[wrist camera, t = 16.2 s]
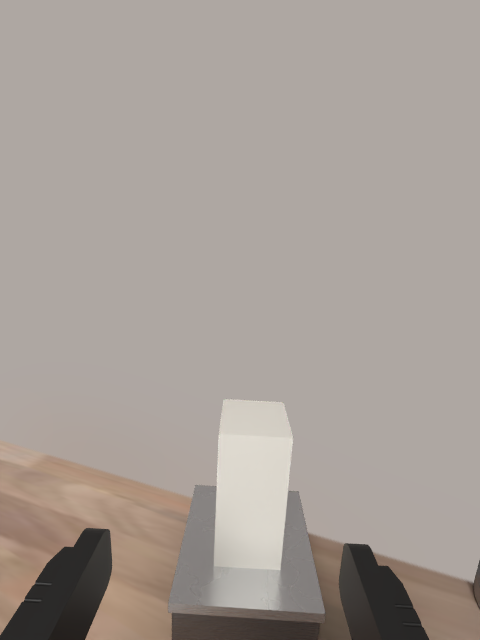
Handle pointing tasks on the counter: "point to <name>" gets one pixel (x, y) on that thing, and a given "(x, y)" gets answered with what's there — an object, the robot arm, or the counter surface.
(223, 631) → the block
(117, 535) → the counter surface
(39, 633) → the robot arm
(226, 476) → the cream block
